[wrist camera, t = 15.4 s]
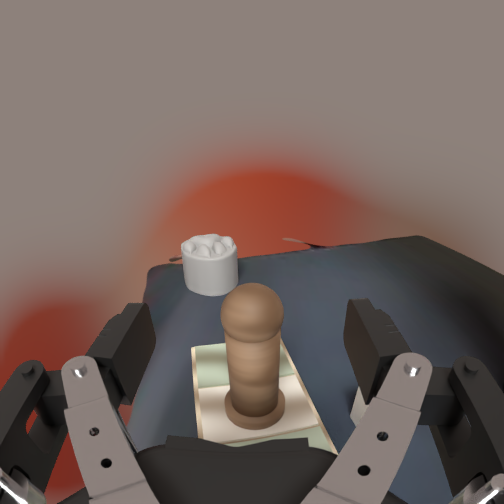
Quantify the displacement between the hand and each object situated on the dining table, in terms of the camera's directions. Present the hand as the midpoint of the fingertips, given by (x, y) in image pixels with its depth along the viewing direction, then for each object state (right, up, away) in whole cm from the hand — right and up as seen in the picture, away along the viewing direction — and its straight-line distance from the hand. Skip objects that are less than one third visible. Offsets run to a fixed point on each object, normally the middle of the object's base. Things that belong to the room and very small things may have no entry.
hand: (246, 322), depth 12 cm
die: (+13, -15, +14) cm, 25 cm away
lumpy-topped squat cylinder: (-8, -3, +49) cm, 49 cm away
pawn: (0, -13, +16) cm, 21 cm away
